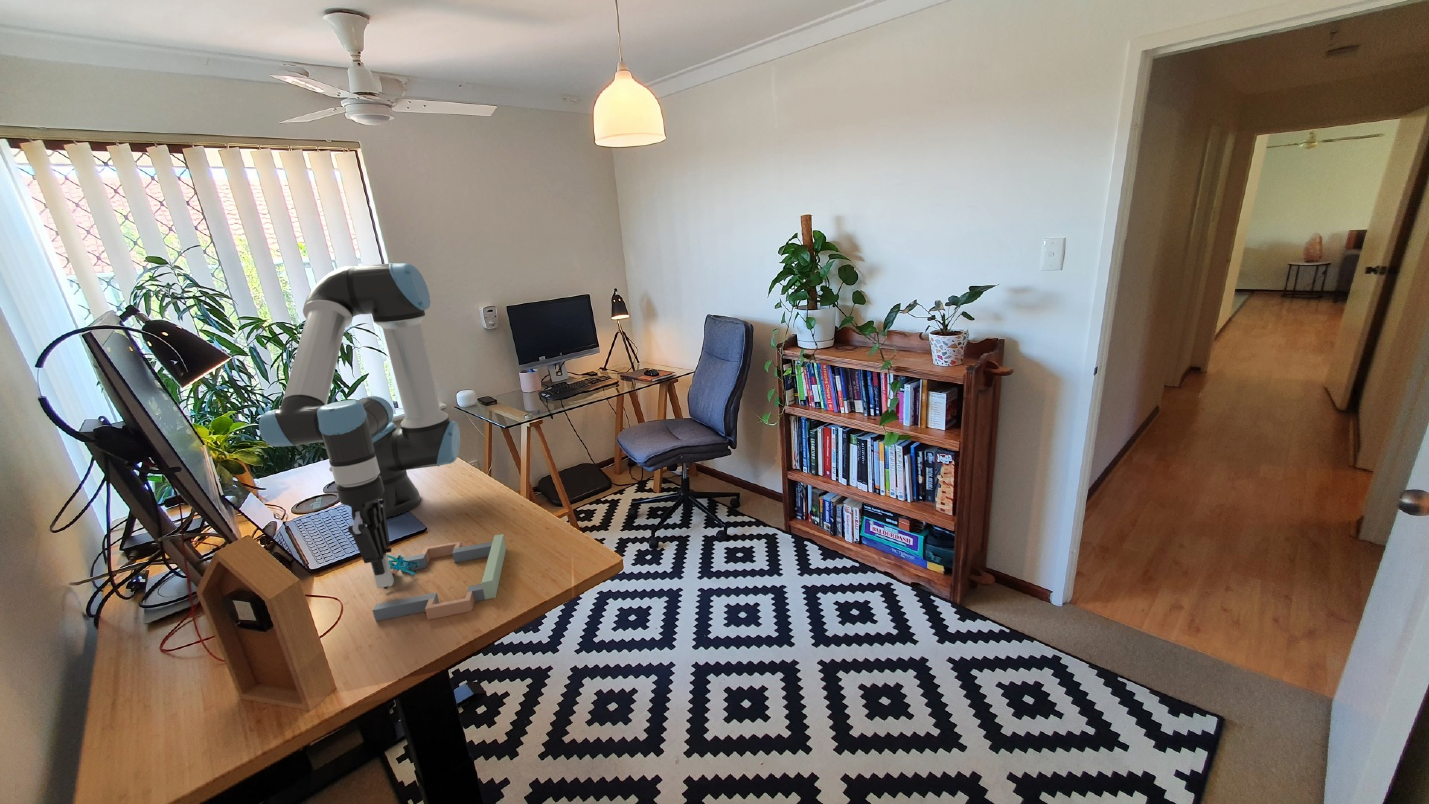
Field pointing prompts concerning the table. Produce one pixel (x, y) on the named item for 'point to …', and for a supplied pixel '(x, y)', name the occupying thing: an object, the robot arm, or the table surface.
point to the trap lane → (430, 601)
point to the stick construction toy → (397, 567)
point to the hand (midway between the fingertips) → (385, 584)
